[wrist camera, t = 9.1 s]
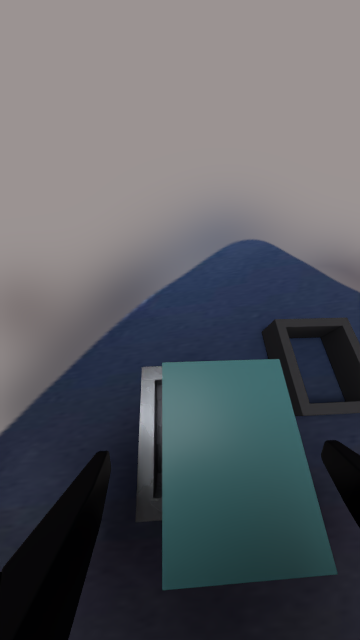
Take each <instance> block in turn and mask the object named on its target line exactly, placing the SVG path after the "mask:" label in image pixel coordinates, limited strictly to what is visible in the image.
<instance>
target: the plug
mask: <svg viewBox="0 0 360 640" xmlns="http://www.w3.org/2000/svg"><path fill="white" fill-rule="evenodd" d="M335 574H338V573H337V570H336V566H335V562H334V559H333V555H332V551H331V548H330V544H329V540H328V537H327V533H326V529H325V526H324V522H323V518H322V514H321V511H320V507H319V503H318V500H317V496H316V492H315V489H314V485H313V481H312V478H311V474H310V470H309V467H308V463H307V459H306V456H305V452H304V448H303V444H302V441H301V437H300V433H299V430H298V426H297V422H296V419H295V415H294V411H293V408H292V404H291V400H290V397H289V393H288V389H287V386H286V382H285V378H284V374H283V371H282V367H281V363H280V360H279V359H265V360H233V361H200V362H168V363H162V590H172V589H183V588H194V587H204V586H215V585H226V584H237V583H248V582H259V581H270V580H281V579H292V578H302V577H313V576H324V575H335Z"/></svg>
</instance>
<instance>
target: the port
mask: <svg viewBox="0 0 360 640" xmlns="http://www.w3.org/2000/svg"><path fill="white" fill-rule="evenodd" d="M159 520H162V366H157V367H142V380H141V404H140V428H139V452H138V476H137V500H136V522H146V521H159Z"/></svg>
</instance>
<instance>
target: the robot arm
mask: <svg viewBox="0 0 360 640" xmlns="http://www.w3.org/2000/svg"><path fill="white" fill-rule="evenodd" d="M321 458H322V461H323V463H324V465H325V467H326V469H327V470H328V472H329V474H330V476H331V478H332V480H333V482H334V484H335V486H336V488H337V490H338V491H339V493H340V495H341V497H342V499H343V501H344V503H345V504H346V506H347V508H348V510H349V511H350V513H351V515H352V516H353V518H354V520H355V521H356V523H357V524H358V526H359V528H360V455H359V454H357V453H355V452H354V451H352V450H351V449H349V448H348V447H346V446H345V445H343V444H342V443H340V442H338V441H336V440H327V441H325V443H324V446H323V450H322V453H321ZM110 472H111V462H110V456H109V452H108V451H99V452H97V453H96V454H95V455H94V457H93V458H92V459H91V460H90V461H89V463H88V464H87V465H86V466H85V468H84V469H83V470H82V471H81V473H80V474H79V475H78V476H77V477H76V479H75V480H74V481H73V482H72V484H71V485H70V486H69V487H68V488H67V490H66V491H65V492H64V493H63V495H62V496H61V497H60V498H59V500H58V501H57V502H56V503H55V504H54V506H53V507H52V508H51V509H50V511H49V512H48V513H47V514H46V516H45V517H44V518H43V519H42V520H41V522H40V523H39V524H38V525H37V527H36V528H35V529H34V530H33V531H32V533H31V534H30V535H29V536H28V538H27V539H26V540H25V541H24V543H23V544H22V545H21V546H20V547H19V549H18V550H17V551H16V552H15V554H14V555H13V556H12V557H11V559H10V560H9V561H8V562H7V563H6V565H5V566H4V567H3V569H2V572H0V640H68V638H69V635H70V631H71V628H72V624H73V620H74V617H75V613H76V610H77V606H78V603H79V599H80V595H81V592H82V588H83V585H84V581H85V578H86V574H87V570H88V567H89V563H90V560H91V556H92V553H93V549H94V545H95V542H96V538H97V535H98V531H99V527H100V523H101V519H102V514H103V509H104V504H105V498H106V493H107V488H108V483H109V477H110Z"/></svg>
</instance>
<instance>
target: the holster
mask: <svg viewBox="0 0 360 640" xmlns="http://www.w3.org/2000/svg"><path fill="white" fill-rule="evenodd" d="M262 335H263V339H264V343H265V347H266V351H267V355H268V359H279V360H280V363H281V367H282V371H283V374H284V378H285V382H286V386H287V389H288V393H289V397H290V400H291V404H292V408H293V411H294V415H295V416H308V415H328V414H347V413H360V344H359V342H358V339H357V337H356V335H355V333H354V331H353V329H352V327H351V325H350V323H349V321H348V319H347V318H317V319H275V320H274V321H273V322H272V323H271V324H270V325H269V326H268V327H266V328H265V329H264V330H263V331H262ZM312 337H321V339H322V342H323V345H324V347H325V350H326V352H327V355H328V357H329V360H330V362H331V365H332V368H333V370H334V373H335V375H336V378H337V380H338V383H339V385H340V388H341V391H342V393H343V396H344V398H345V401H346V402H335V403H314V404H310V403H309V400H308V396H307V393H306V390H305V387H304V384H303V380H302V377H301V374H300V371H299V368H298V365H297V361H296V358H295V355H294V352H293V349H292V345H291V342H290V339H289V338H312Z"/></svg>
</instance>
